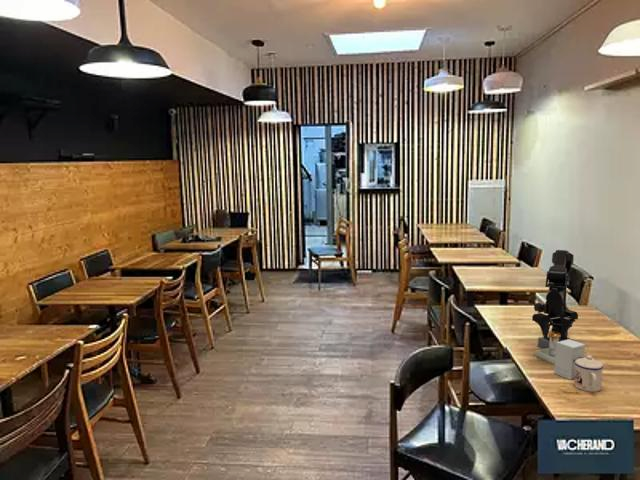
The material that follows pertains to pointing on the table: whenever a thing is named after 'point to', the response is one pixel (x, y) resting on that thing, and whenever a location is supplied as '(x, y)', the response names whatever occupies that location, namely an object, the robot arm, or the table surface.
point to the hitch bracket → (545, 342)
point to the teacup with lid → (588, 374)
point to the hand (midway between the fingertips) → (554, 336)
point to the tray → (544, 355)
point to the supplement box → (567, 357)
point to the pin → (553, 343)
